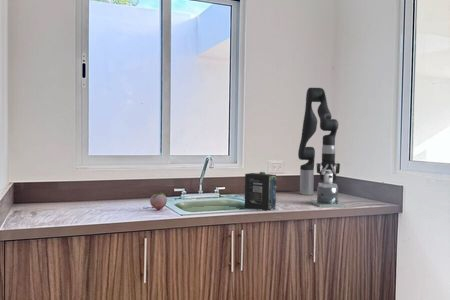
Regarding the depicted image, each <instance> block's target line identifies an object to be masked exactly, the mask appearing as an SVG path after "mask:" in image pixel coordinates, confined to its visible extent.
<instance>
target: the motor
mask: <svg viewBox="0 0 450 300" xmlns="http://www.w3.org/2000/svg"><path fill="white" fill-rule="evenodd" d="M316 187H317V188H316V199H309V203H310V204H312V203H313V204H312V205H314V204H315V205H314V206H316V205H317V207H318V206H319V208H345V207H347V203H344V202H341V201H340V200H339V186H338V184H337V183H333V182H332V184H324V182H318V186H316Z"/></svg>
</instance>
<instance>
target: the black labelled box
mask: <svg viewBox="0 0 450 300" xmlns="http://www.w3.org/2000/svg"><path fill="white" fill-rule="evenodd" d="M244 174H245V175H244V179H245V180H244V185H243V188H242V189H243V190H244V197H243V198H242V199H244V208H247V209H253V210H259V209H262V210H261V211H266V210H269V211H272V210H271V209H273V210H275V209H276V208H277V205H276V203H277V197H276V193H277V179H278V178H277V175H276V174H272V173H270V174H269V173H266V172H265V171H259V173H258V172H257V173H256V172H249V173H244Z"/></svg>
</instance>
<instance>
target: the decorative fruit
mask: <svg viewBox="0 0 450 300" xmlns="http://www.w3.org/2000/svg"><path fill="white" fill-rule="evenodd" d="M149 203H150V205H151V207H152V208H154V209H155V210H158V211H161V210H162V209H163V208H165V207H166V205H167V203H168V198H167V196H166V194H165V193H163V192H160V191H158V192H157V193H154V194H153V195H152V196H151V197H150V199H149Z"/></svg>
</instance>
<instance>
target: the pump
mask: <svg viewBox="0 0 450 300" xmlns="http://www.w3.org/2000/svg"><path fill="white" fill-rule="evenodd" d="M333 182H334V181H333V173H332V171H331V170H325V172H324V173H323V183H324V184H332V183H333Z"/></svg>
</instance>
